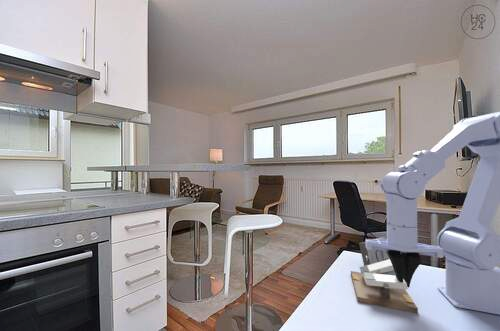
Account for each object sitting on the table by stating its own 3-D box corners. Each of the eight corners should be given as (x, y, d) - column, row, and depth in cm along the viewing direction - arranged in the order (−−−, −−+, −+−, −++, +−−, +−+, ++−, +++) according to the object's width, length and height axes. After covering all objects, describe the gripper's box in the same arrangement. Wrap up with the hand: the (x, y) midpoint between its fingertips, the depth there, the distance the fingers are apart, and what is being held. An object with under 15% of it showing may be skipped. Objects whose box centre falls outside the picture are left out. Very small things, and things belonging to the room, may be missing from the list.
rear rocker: (392, 264, 57) (389, 258, 57) (397, 270, 53) (393, 264, 54) (362, 272, 59) (359, 266, 59) (364, 279, 56) (361, 272, 56)
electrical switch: (375, 276, 61) (372, 242, 62) (358, 270, 65) (356, 238, 66) (395, 270, 65) (392, 238, 66) (378, 264, 69) (376, 235, 70)
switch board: (397, 282, 58) (397, 270, 58) (417, 313, 45) (417, 298, 45) (350, 274, 62) (350, 263, 62) (357, 301, 49) (357, 287, 49)
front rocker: (401, 282, 50) (401, 275, 51) (407, 290, 47) (406, 283, 47) (363, 278, 53) (363, 272, 53) (366, 286, 50) (365, 279, 50)
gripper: (432, 222, 51) (432, 281, 50) (363, 218, 55) (363, 271, 55) (448, 231, 44) (449, 298, 44) (368, 224, 49) (368, 285, 48)
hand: (402, 284), depth 49 cm, fingers closed, pressing on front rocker
